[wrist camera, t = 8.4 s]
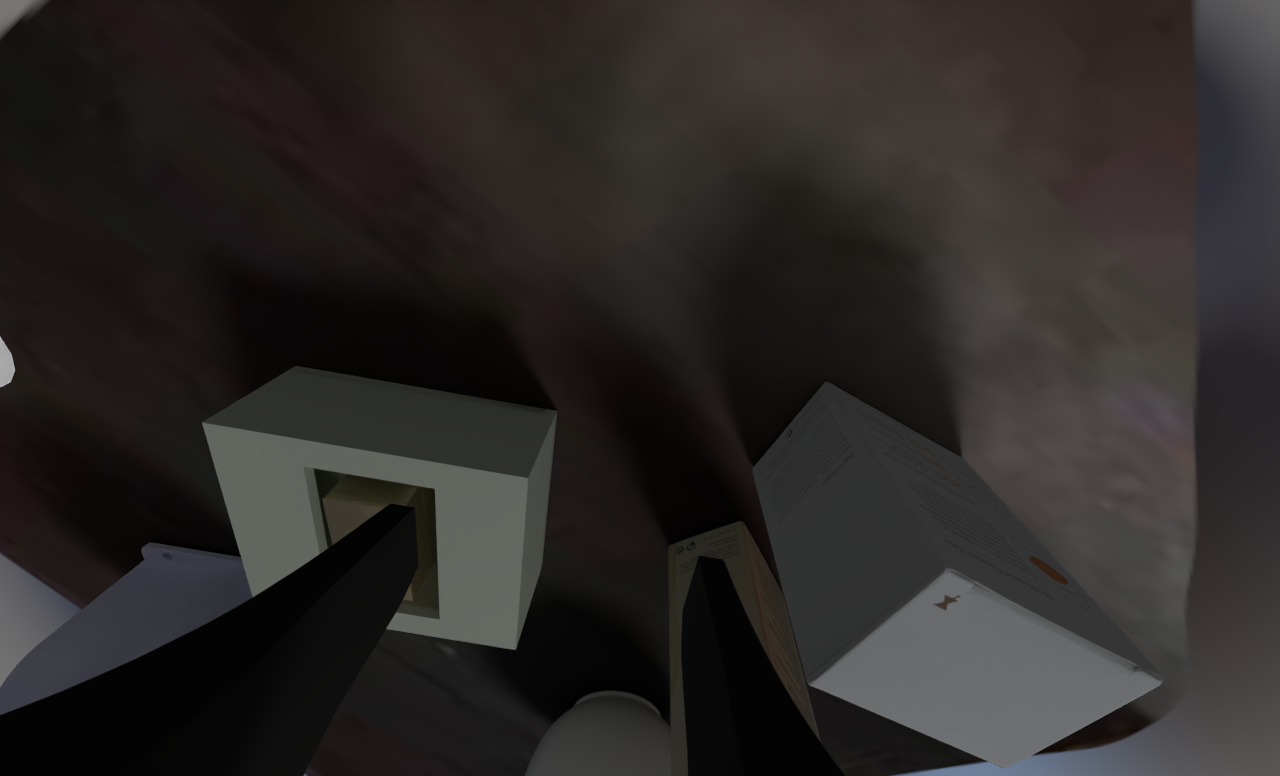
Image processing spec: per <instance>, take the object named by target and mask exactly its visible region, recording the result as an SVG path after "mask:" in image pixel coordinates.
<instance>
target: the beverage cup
mask: <svg viewBox="0 0 1280 776" xmlns="http://www.w3.org/2000/svg"><path fill="white" fill-rule="evenodd" d="M14 372H15V368H14V363H13V359H12V355H11V353H10V351H9V350H8V348H7V347H6V345H5V343H4V342H3V340H2V339H1V337H0V387H2V386H4V385H6V384H8V383H10V382H11V380H12V377H13V374H14Z"/></svg>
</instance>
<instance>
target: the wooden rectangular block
mask: <svg viewBox="0 0 1280 776" xmlns="http://www.w3.org/2000/svg"><path fill="white" fill-rule="evenodd" d="M322 500H323V505H324V509H325V514H326V518H327V523H328V527H329V532H330V536H331V541H332V545H333V544H335V543H336V542H337V541H339V540H340V539H342V538H343V537H344V536H346V535H347V534H349V533H350V532H351V531H353V530H354V529H356V528H357V527H358V526H360V525H361V524H362V523H364V522H365V521H367V520H368V519H369V518H371V517H372V516H373V515H375V514H376V513H378V512H379V511H380V510H382V509H383V508H385V507H386V506H388V505H389V504H397V505H403V506H409V507H415V517H416V533H417V549H418V565H419V566H418V568H417V571H416V573H415V575H414V577H413V580H412V582H411V584H410V586H409V588H408V590H407V592H406V595H405V597H404V599H403V600H409V601H413V600H414V598H415V596H416V594H417V593H418V591H419V589H420V587H421V586H422V584H423V582H424V580H425V579H426V577H427V575H428V573H429V571H430V570H431V568H432V566H433V564H434V563H435V561H436V559H437V533H436V506H435V489H433V488H427V487H421V486H416V485H410V484H404V483H398V482H392V481H386V480H380V479H374V478H368V477H363V476H357V475H351V474H347V475H346V476H345V477H344V478H343V479H342V480H341V481H340V482H339V483H338V484H337V485H336V486H335V487H334V488H333V489H332V490H331V491H330V492H329V493H328V494H327V495H326V496H325V497H324V498H323V499H322Z"/></svg>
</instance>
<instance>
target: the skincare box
mask: <svg viewBox="0 0 1280 776" xmlns="http://www.w3.org/2000/svg"><path fill="white" fill-rule="evenodd" d="M699 556H705V557H711V558H717V559H723V561H724V562H725V563H726V566H727V568H728V571H729V574H730V576H731V579H732V581H733V584H734V586H735V588H736V591H737V593H738V595H739V598H740V600H741V602H742V604H743V607H744V609H745V611H746V613H747V615H748V618H749V620H750V622H751V624H752V626H753V628H754V630H755V632H756V634H757V636H758V638H759V640H760V642H761V644H762V646H763V648H764V650H765V652H766V654H767V656H768V657H769V659H770V661H771V663H772V665H773V666H774V668H775V670H776V672H777V674H778V675H779V677H780V679H781V681H782V682H783V684H784V686H785V688H786V689H787V691H788V693H789V694H790V696H791V698H792V699H793V701H794V702H795V704H796V706H797V707H798V709H799V710H800V712H801V713H802V715H803V716H804V718H805V720H806V721H807V723H808V724H809V726H810V727H811V729H812V730H813V731H814V733H815V734H816V736H817V737H818V739H819V740H820V738H819V734H818V730H817V726H816V722H815V718H814V715H813V711H812V707H811V703H810V699H809V695H808V691H807V688H806V684H805V680H804V676H803V672H802V668H801V664H800V660H799V657H798V653H797V649H796V645H795V641H794V637H793V633H792V630H791V626H790V622H789V618H788V614H787V610H786V606H785V603H784V599H783V595H782V593H781V591H780V588H779V586H778V584H777V582H776V580H775V578H774V576H773V575H772V573H771V571H770V569H769V567H768V565H767V563H766V561H765V559H764V558H763V556H762V554H761V552H760V550H759V548H758V546H757V545H756V543H755V541H754V539H753V537H752V536H751V534H750V532H749V531H748V529H747V527H746V525H745V524H744V522H743V521H738V522H735V523H732V524H729V525H726V526H723V527H720V528H717V529H714V530H711V531H708V532H705V533H702V534H699V535H696V536H693V537H691V538H688V539H685V540H682V541H680V542H677V543H674V544H672V545H669V547H668V576H669V638H670V714H671V776H688V761H687V740H686V725H685V710H684V695H683V680H682V664H681V632H682V610H683V607H684V603H685V600H686V597H687V593H688V590H689V587H690V583H691V580H692V577H693V573H694V570H695V567H696V563H697V560H698V557H699ZM820 742H821V741H820Z"/></svg>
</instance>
